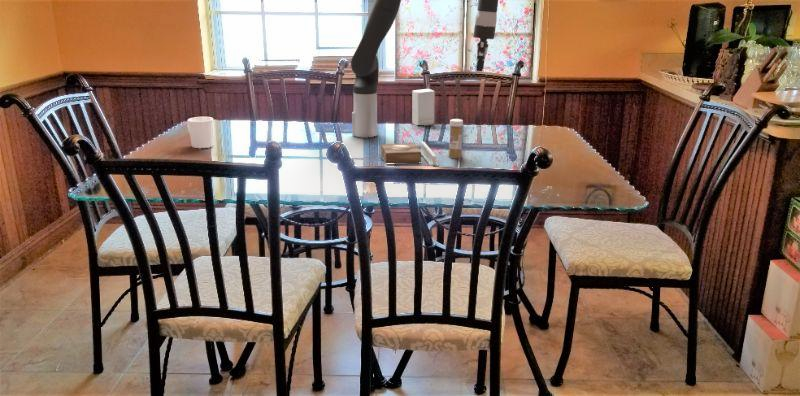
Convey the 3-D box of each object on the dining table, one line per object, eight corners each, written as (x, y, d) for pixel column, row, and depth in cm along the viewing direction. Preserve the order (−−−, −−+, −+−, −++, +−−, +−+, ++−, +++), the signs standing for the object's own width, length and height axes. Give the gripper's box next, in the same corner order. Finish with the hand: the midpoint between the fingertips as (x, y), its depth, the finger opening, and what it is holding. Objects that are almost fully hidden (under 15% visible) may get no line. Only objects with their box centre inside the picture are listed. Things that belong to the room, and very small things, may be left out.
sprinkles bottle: (446, 157, 225) (447, 119, 220) (453, 154, 228) (455, 117, 224) (456, 159, 222) (458, 121, 218) (464, 156, 225) (465, 119, 221)
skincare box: (428, 122, 278) (429, 88, 273) (434, 125, 273) (435, 90, 268) (411, 123, 275) (411, 89, 270) (417, 126, 270) (418, 91, 265)
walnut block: (381, 155, 226) (381, 143, 225) (414, 154, 228) (414, 142, 227) (386, 164, 215) (386, 152, 214) (420, 163, 217) (421, 151, 216)
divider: (418, 150, 233) (418, 141, 231) (426, 150, 233) (426, 141, 232) (430, 166, 214) (430, 156, 213) (438, 165, 214) (438, 155, 213)
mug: (220, 145, 238) (218, 118, 235) (204, 150, 230) (201, 122, 227) (197, 141, 242) (195, 115, 239) (181, 147, 235) (178, 119, 231)
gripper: (476, 23, 236) (470, 67, 241) (473, 23, 222) (468, 70, 227) (496, 25, 235) (490, 69, 240) (495, 26, 221) (489, 72, 226)
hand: (479, 70), depth 233 cm, fingers open, 8 cm apart
